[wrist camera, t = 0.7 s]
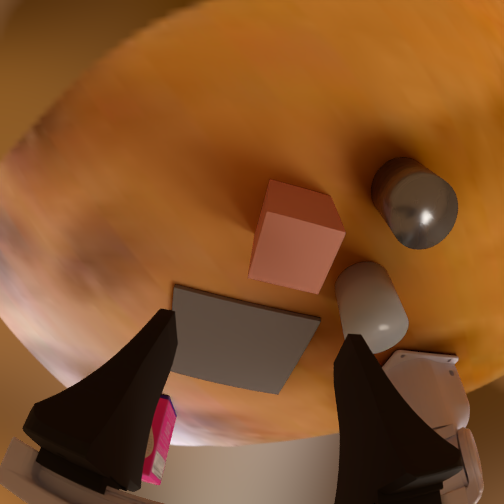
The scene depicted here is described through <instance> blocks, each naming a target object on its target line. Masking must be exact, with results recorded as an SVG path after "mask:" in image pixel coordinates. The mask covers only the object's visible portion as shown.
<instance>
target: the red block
mask: <svg viewBox="0 0 504 504" xmlns="http://www.w3.org/2000/svg"><path fill="white" fill-rule="evenodd" d="M345 234H346V232H345V229H344V227H343V224H342V222H341V219H340V217H339V214H338V212H337V210H336V207H335V205H334V203H333V200H332V198H331V196H328V195H325V194H322V193H318V192H315V191H311V190H308V189H304V188H301V187H297V186H294V185H290V184H286V183H283V182H279V181H275V180H271V179H270V181H269V184H268V188H267V191H266V195H265V199H264V202H263V206H262V210H261V213H260V217H259V220H258V224H257V228H256V231H255V235H254V242H253V248H252V254H251V261H250V267H249V273H248V278H250V279H254V280H258V281H263V282H267V283H271V284H275V285H280V286H284V287H288V288H293V289H297V290H301V291H306V292H310V293H315V294H318V293H319V291H320V289H321V287H322V285H323V283H324V281H325V279H326V276H327V274H328V272H329V270H330V268H331V265H332V263H333V261H334V259H335V257H336V254H337V252H338V250H339V247H340V245H341V243H342V241H343V238H344V236H345Z"/></svg>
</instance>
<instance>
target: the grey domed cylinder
mask: <svg viewBox="0 0 504 504" xmlns="http://www.w3.org/2000/svg"><path fill="white" fill-rule="evenodd" d="M335 293H336V298H337V303H338V308H339V313H340V318H341V323H342V328H343V333H344V339H346V337H347V335H348V334H361V335H362V337H363V338H364V340H365V341H366V343H367V345H368V346H369V348H370V350H371V351H372V353H373V354H375V353H379V352H382V351H385V350H387V349H389V348H391V347H393V346H394V345H396V344H397V343H398V342H399V341H400V340H401V339H402V338H403V337H404V335H405V334H406V332H407V329H408V325H409V322H408V318H407V316H406V313H405V311H404V309H403V306H402V304H401V302H400V299H399V297H398V295H397V292H396V290H395V288H394V286H393V284H392V281H391V279H390V277H389V275H388V273H387V271H386V269H385V268H384V267H383V266H381V265H380V264H377V263H374V262H360V263H356V264H354V265H352V266H350V267H348V268H347V269H345V270H344V271H343V272H342V273H341V274H340V276H339V277H338V279H337V281H336V284H335Z"/></svg>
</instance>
